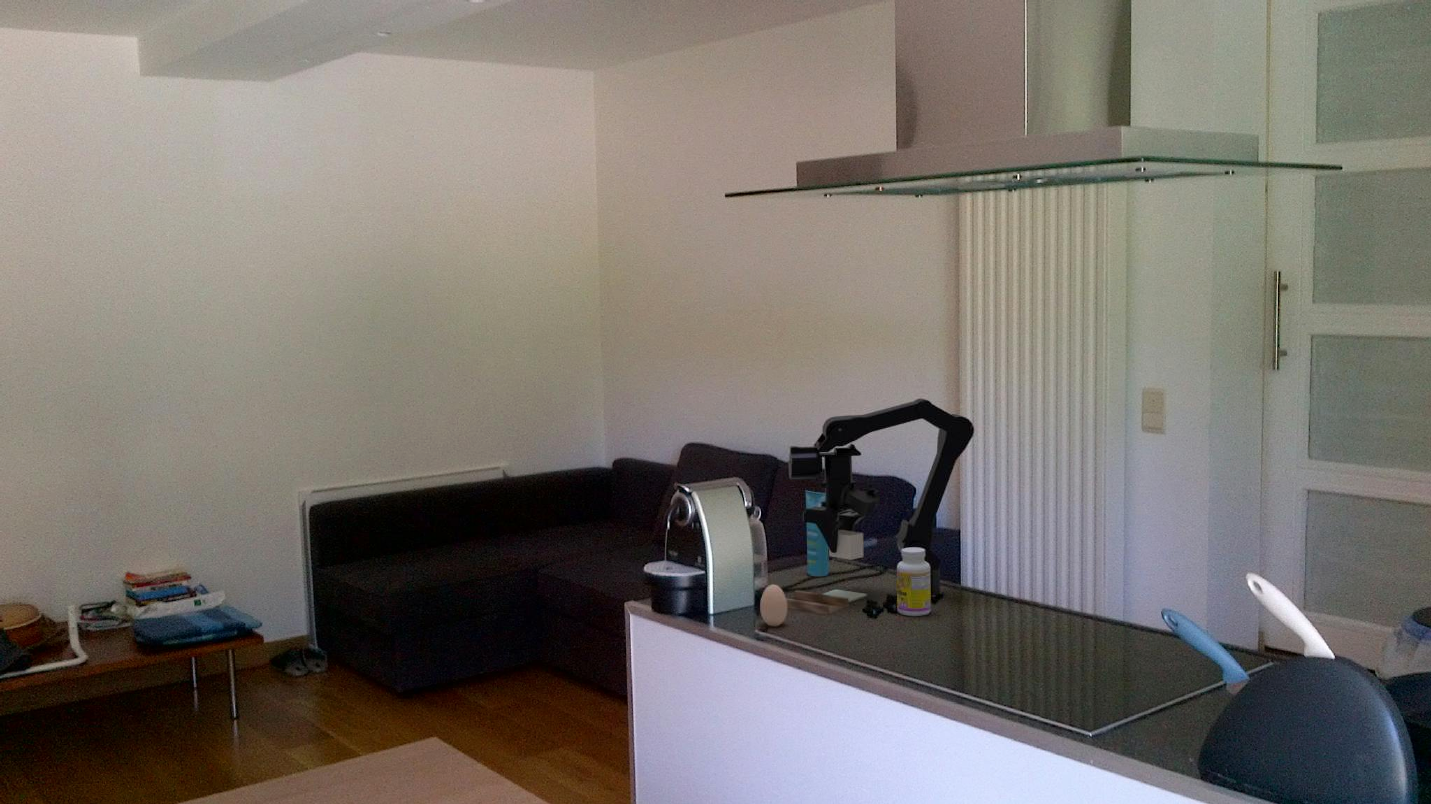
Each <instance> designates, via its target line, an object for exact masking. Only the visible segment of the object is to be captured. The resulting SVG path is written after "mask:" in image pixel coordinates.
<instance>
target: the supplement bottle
mask: <svg viewBox="0 0 1431 804" xmlns="http://www.w3.org/2000/svg"><path fill="white" fill-rule="evenodd" d="M900 553H901V552H900ZM901 557H902V561H899V562H898V563H897V566H896V591H897V592H896V596H897V598H896V599H897V600H896V605H897V606H896V607H897V612H898V613H899V614H901V615H902V616H903V615H904V616H908V617H922V616H926V615H928V614H930V612H931V611H932V609H931V608H932V598H931V586H930V565H929V563H928V562H926V561H924V557H925V549H923V548H916V547H911V548H904V549H902V553H901Z"/></svg>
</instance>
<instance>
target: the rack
mask: <svg viewBox="0 0 1431 804" xmlns="http://www.w3.org/2000/svg"><path fill="white" fill-rule="evenodd" d="M786 600H787V610H788V609H790V610H795V611H801V612H807V613H812V614H819V615H825V616H827V615H829V614H832V613H836V612H838V611H841V610H844V609H846V608H848V607H849V605H850V604H849V603H850V602H849V599H848V598H843V597H837V596H831V595H824V594H823V593H818V592H817V593H816V592H813V591H812V592H811V591H804V590H799V589H796V590H794V591H793V599H792V598H786Z"/></svg>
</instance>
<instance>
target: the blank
mask: <svg viewBox="0 0 1431 804" xmlns="http://www.w3.org/2000/svg"><path fill="white" fill-rule="evenodd" d="M828 557H833V558H839V559H843V560H848V561H850V560H851V561H852V560H855V559H860V558H864V533H863V532H857V531H854V532H852V531H846V530H839V529H838V542H837V552H836V553H832V552H831V551H830V549H829V548H828Z"/></svg>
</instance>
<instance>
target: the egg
mask: <svg viewBox="0 0 1431 804" xmlns="http://www.w3.org/2000/svg"><path fill="white" fill-rule="evenodd" d="M761 595H762V596H761V598H760V604H759V605H760V606H759V607H760V608H759V609H760V614H761V617H762V619H763V621H764V622H765V624H766V625H768V626H769V627H778V626H780V625H782V623H783V622H784V621H785V620H786V617H787V615H788V614H787V613H788V608H787V600H786V595H785V593H784V591H783V588H781V587H780V586H779V585H777V584H770V585H768V586H766V588H765V589H764V590H763V593H762V594H761Z"/></svg>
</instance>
